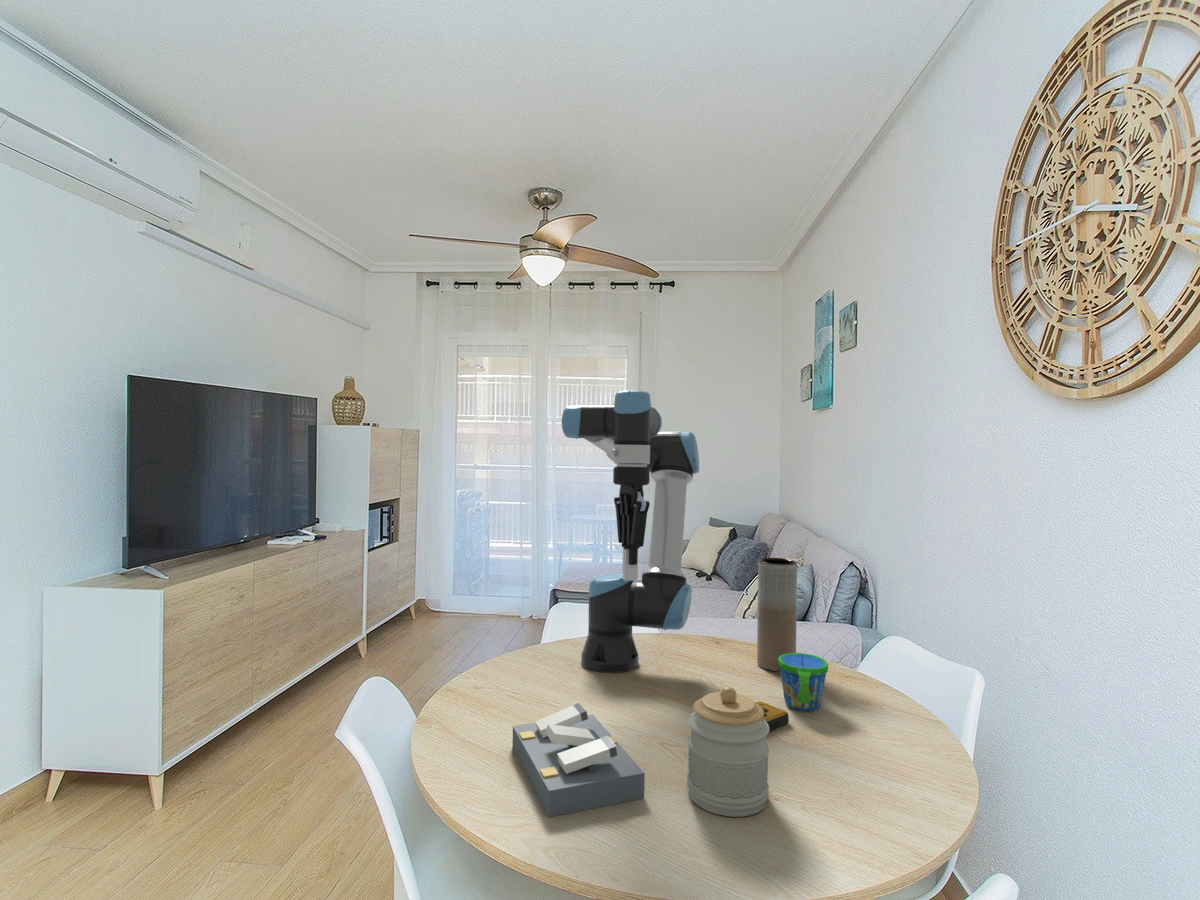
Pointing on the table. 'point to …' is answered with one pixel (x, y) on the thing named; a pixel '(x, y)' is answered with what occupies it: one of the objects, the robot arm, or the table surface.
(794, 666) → the snack cup
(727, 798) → the jar
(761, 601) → the vase
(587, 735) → the rocker mid
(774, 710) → the electronic device
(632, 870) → the table surface
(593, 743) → the rocker near
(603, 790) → the switch unit
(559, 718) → the rocker far
